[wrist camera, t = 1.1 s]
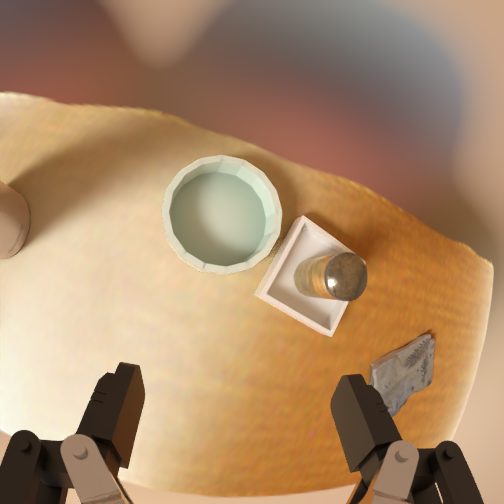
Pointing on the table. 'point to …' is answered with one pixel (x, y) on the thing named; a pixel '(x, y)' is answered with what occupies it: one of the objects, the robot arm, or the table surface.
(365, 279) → the glass jar with lid
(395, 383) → the fossil rock
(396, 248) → the table surface
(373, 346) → the table surface
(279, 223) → the bowl
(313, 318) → the parts tray
